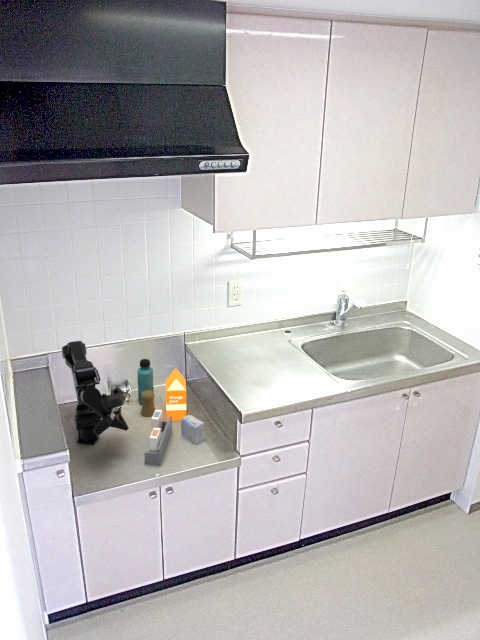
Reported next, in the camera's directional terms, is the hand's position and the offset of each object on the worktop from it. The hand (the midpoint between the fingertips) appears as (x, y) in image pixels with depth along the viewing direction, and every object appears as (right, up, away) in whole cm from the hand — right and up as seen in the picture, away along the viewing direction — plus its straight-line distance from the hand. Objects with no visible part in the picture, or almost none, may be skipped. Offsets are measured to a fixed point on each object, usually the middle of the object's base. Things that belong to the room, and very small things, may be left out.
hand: (127, 429), depth 190 cm
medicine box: (+21, -7, +15) cm, 27 cm away
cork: (+3, 0, +28) cm, 28 cm away
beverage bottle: (0, +3, +36) cm, 36 cm away
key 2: (+8, -6, +13) cm, 17 cm away
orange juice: (+14, -1, +28) cm, 31 cm away
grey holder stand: (+9, -9, +9) cm, 16 cm away
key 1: (+9, -10, +3) cm, 14 cm away
